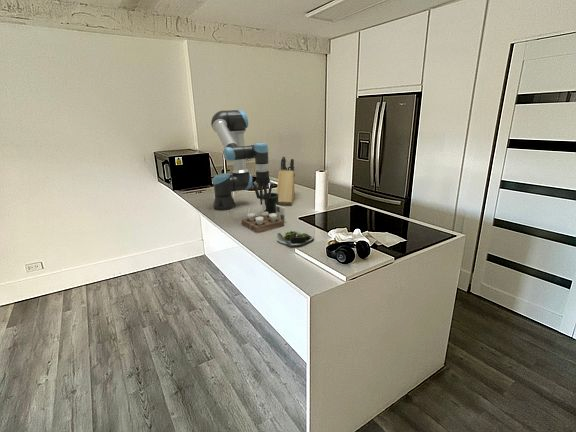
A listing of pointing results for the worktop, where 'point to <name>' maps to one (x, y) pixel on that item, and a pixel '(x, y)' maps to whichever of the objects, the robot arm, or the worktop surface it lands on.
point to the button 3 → (264, 214)
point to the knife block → (286, 183)
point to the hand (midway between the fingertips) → (264, 209)
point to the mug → (271, 203)
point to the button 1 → (251, 217)
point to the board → (266, 224)
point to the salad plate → (295, 238)
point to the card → (280, 213)
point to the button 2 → (259, 220)
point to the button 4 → (273, 217)
